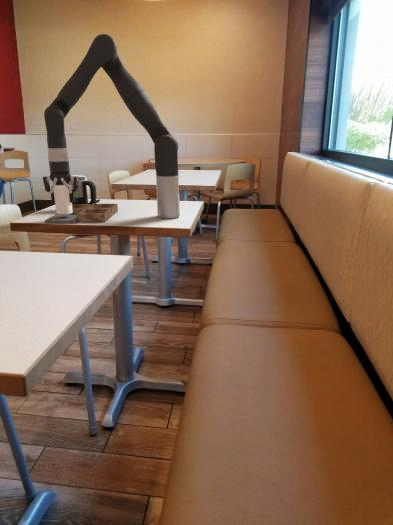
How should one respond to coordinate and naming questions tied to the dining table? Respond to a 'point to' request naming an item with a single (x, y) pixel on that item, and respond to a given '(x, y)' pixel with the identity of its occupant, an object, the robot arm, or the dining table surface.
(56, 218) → the mat
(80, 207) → the frame
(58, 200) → the can
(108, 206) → the frame
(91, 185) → the milk frother
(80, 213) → the frame
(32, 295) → the dining table surface
